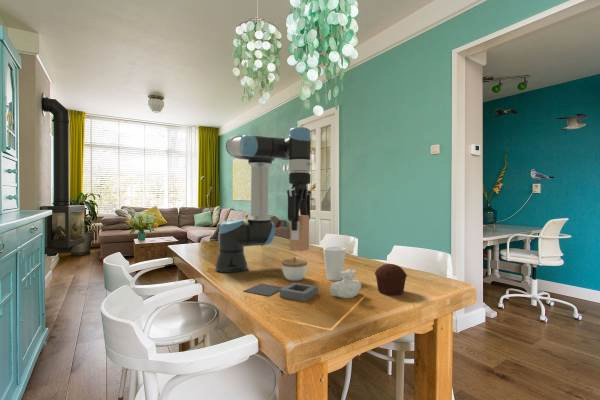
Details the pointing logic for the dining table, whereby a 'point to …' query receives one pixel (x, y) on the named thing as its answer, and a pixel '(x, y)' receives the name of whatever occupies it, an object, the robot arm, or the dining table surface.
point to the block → (301, 234)
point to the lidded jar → (294, 269)
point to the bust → (346, 285)
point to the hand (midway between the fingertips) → (299, 238)
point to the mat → (264, 289)
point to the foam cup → (334, 262)
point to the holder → (299, 291)
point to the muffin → (390, 279)
